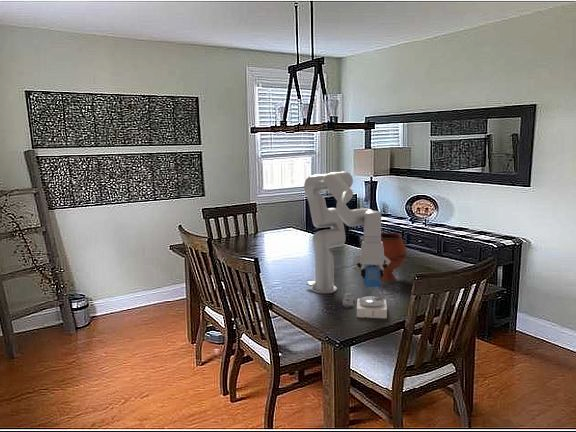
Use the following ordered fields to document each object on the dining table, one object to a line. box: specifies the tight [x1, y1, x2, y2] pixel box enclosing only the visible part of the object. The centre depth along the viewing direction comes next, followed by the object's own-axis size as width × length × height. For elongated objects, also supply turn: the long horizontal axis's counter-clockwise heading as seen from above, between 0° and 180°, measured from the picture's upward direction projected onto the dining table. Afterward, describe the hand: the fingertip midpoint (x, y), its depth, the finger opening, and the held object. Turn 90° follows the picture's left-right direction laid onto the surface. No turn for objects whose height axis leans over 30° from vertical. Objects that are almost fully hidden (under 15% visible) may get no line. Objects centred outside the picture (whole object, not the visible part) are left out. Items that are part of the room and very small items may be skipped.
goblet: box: [376, 232, 407, 282], centre depth 258 cm, size 19×19×25 cm
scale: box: [356, 297, 388, 319], centre depth 212 cm, size 13×14×4 cm
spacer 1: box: [342, 292, 355, 302], centre depth 228 cm, size 5×5×3 cm
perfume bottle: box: [363, 265, 381, 288], centre depth 209 cm, size 6×6×12 cm
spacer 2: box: [342, 298, 354, 308], centre depth 221 cm, size 5×5×3 cm
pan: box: [359, 295, 384, 307], centre depth 212 cm, size 11×11×1 cm
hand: (372, 277), depth 210 cm, fingers closed on perfume bottle, 7 cm apart
